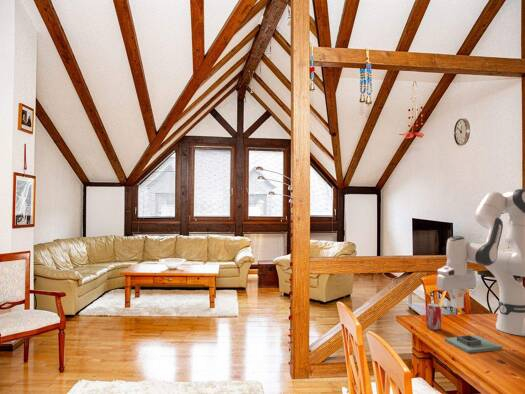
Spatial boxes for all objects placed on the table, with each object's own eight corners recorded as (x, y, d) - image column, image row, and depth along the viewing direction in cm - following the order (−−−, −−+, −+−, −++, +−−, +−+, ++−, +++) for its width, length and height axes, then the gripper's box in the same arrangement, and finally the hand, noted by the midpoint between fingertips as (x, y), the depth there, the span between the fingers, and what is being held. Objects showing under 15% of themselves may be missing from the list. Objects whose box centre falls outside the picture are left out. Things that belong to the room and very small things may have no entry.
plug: (457, 305, 182) (457, 289, 182) (464, 307, 177) (464, 291, 177) (450, 306, 181) (450, 289, 181) (457, 308, 176) (457, 292, 176)
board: (476, 337, 176) (476, 331, 176) (502, 349, 162) (502, 342, 162) (444, 340, 172) (444, 334, 172) (468, 353, 158) (468, 345, 158)
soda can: (442, 331, 185) (442, 307, 185) (427, 330, 186) (427, 306, 186) (439, 326, 192) (439, 303, 192) (424, 325, 193) (424, 302, 193)
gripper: (469, 267, 185) (469, 294, 185) (434, 269, 180) (434, 298, 180) (479, 269, 179) (479, 298, 179) (443, 272, 174) (444, 301, 174)
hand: (456, 298), depth 179 cm, fingers closed on plug, 4 cm apart
